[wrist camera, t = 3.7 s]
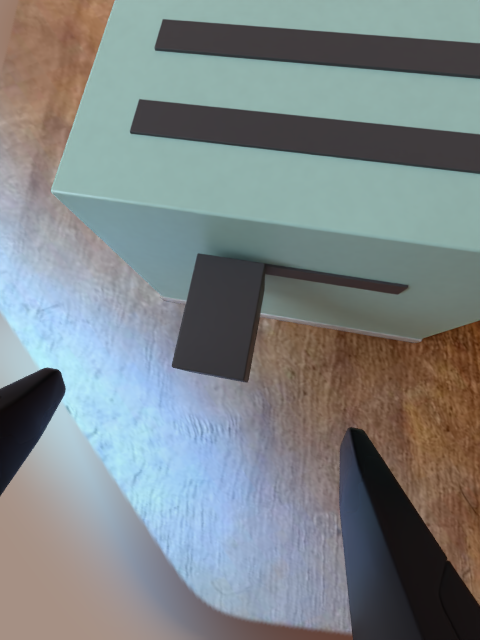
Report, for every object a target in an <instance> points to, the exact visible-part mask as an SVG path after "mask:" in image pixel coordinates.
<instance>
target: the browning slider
mask: <svg viewBox="0 0 480 640" xmlns="http://www.w3.org/2000/svg"><path fill="white" fill-rule="evenodd" d="M264 291H265V264H264V263H259V262H252V261H246V260H239V259H233V258H226V257H219V256H213V255H206V254H200V253H198V254H197V257H196V261H195V266H194V270H193V275H192V279H191V283H190V288H189V292H188V297H187V301H186V305H185V310H184V314H183V318H182V323H181V327H180V332H179V336H178V340H177V345H176V349H175V354H174V358H173V362H172V367H173V368H177V369H181V370H185V371H189V372H194V373H199V374H204V375H210V376H215V377H220V378H225V379H231V380H236V381H241V382H246V383H247V382H248V380H249V374H250V369H251V363H252V357H253V352H254V346H255V341H256V335H257V330H258V324H259V318H260V313H261V307H262V302H263V296H264Z"/></svg>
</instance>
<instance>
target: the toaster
mask: <svg viewBox="0 0 480 640" xmlns="http://www.w3.org/2000/svg"><path fill="white" fill-rule="evenodd" d="M51 192H52V194H54V195H55V196H56V197H57V198H58V199H59V200H60V201H61V202H62V203H63V204H64V205H65V206H66V207H67V208H69V209H70V210H71V211H72V212H73V213H74V214H75V215H76V216H77V217H78V218H79V219H80V220H81V221H82V222H83V223H85V224H86V225H87V226H88V227H89V228H90V229H91V230H92V231H93V232H94V233H95V234H96V235H97V236H98V237H100V238H101V239H102V240H103V241H104V242H105V243H106V244H107V245H108V246H109V247H110V248H111V249H112V250H113V251H115V252H116V253H117V254H118V255H119V256H120V257H121V258H122V259H123V260H124V261H125V262H126V263H127V264H128V265H129V266H131V267H132V268H133V269H134V270H135V271H136V272H137V273H138V274H139V275H140V276H141V277H142V278H143V279H144V280H146V281H147V282H148V283H149V284H150V285H151V286H152V287H153V288H154V289H155V290H156V291H157V292H158V293H159V294H161V295H160V298H161V299H162V300H164V301H168V302H174V303H180V304H186V301H187V297H188V292H189V288H190V283H191V279H192V275H193V270H194V266H195V261H196V257H197V254H198V253H200V254H206V255H213V256H219V257H226V258H233V259H239V260H246V261H252V262H259V263H264V264H265V291H264V296H263V302H262V307H261V313H260V317H263V318H269V319H275V320H281V321H287V322H293V323H299V324H305V325H311V326H317V327H322V328H328V329H334V330H340V331H346V332H352V333H358V334H364V335H370V336H376V337H382V338H388V339H394V340H399V341H405V342H411V343H418V342H421V341H422V338H425V337H428V336H432V335H435V334H438V333H441V332H444V331H447V330H451V329H454V328H457V327H460V326H463V325H467V324H470V323H473V322H476V321H479V320H480V0H115V2H114V5H113V8H112V11H111V13H110V16H109V19H108V22H107V25H106V28H105V31H104V34H103V37H102V40H101V43H100V46H99V49H98V52H97V55H96V58H95V61H94V64H93V67H92V70H91V73H90V76H89V79H88V82H87V85H86V88H85V91H84V94H83V97H82V99H81V102H80V105H79V108H78V111H77V114H76V117H75V120H74V123H73V126H72V129H71V132H70V135H69V138H68V141H67V144H66V147H65V150H64V153H63V156H62V159H61V162H60V165H59V168H58V171H57V174H56V177H55V180H54V182H53V185H52V188H51Z"/></svg>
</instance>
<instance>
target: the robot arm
mask: <svg viewBox="0 0 480 640" xmlns="http://www.w3.org/2000/svg"><path fill="white" fill-rule="evenodd" d="M64 394H65V384H64V381H63V378H62V375H61V372H60V371H59V370H57V369H53V368H44V369H41V370H39V371H37V372H35V373H33V374H31V375H29V376H26V377H24V378H22V379H20V380H18V381H16V382H14V383H12V384H10V385H7V386H5V387H3V388H1V389H0V496H1V494H2V493H3V491H4V490H5V488H6V487H7V485H8V484H9V483H10V481H11V480H12V478H13V477H14V475H15V474H16V473H17V471H18V469H19V468H20V467H21V465H22V464H23V462H24V461H25V460H26V458H27V457H28V455H29V454H30V452H31V451H32V449H33V448H34V446H35V445H36V443H37V442H38V440H39V439H40V437H41V436H42V434H43V432H44V431H45V429H46V427H47V425H48V423H49V422H50V420H51V418H52V416H53V414H54V412H55V411H56V409H57V407H58V405H59V404H60V402H61V400H62V398H63V396H64ZM339 505H340V517H341V527H342V537H343V546H344V556H345V566H346V576H347V586H348V596H349V605H350V615H351V625H352V635H353V640H480V606H479V604H478V603H477V601H476V600H475V598H474V597H473V595H472V594H471V592H470V591H469V589H468V588H467V587H466V585H465V584H464V582H463V581H462V579H461V578H460V576H459V575H458V573H457V572H456V570H455V569H454V567H453V565H452V564H451V562H450V561H447V557H446V555H445V553H444V552H443V550H442V549H441V547H440V546H439V544H438V543H437V541H436V540H435V538H434V537H433V535H432V534H431V532H430V531H429V529H428V528H427V526H426V524H425V523H424V521H423V520H422V518H421V517H420V515H419V514H418V512H417V511H416V509H415V508H414V506H413V505H412V503H411V502H410V500H409V498H408V497H407V495H406V494H405V492H404V491H403V489H402V488H401V486H400V485H399V483H398V482H397V480H396V479H395V477H394V476H393V474H392V472H391V471H390V469H389V468H388V466H387V465H386V463H385V462H384V460H383V459H382V457H381V456H380V454H379V453H378V451H377V450H376V448H375V447H374V445H373V443H372V442H371V440H370V439H369V437H368V436H367V434H366V433H365V431H363V430H362V429H358V428H352V427H349V428H348V429H347V431H346V433H345V436H344V438H343V441H342V443H341V446H340V485H339Z"/></svg>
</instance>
